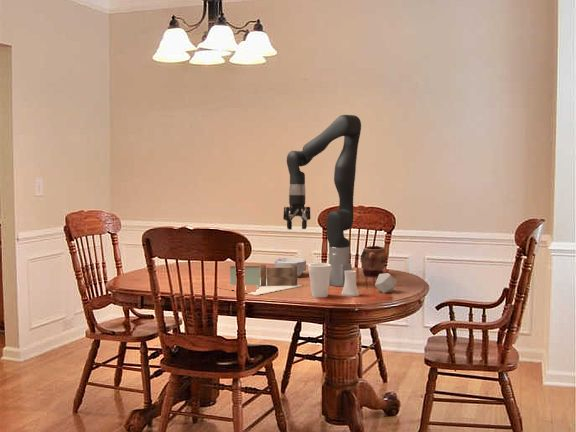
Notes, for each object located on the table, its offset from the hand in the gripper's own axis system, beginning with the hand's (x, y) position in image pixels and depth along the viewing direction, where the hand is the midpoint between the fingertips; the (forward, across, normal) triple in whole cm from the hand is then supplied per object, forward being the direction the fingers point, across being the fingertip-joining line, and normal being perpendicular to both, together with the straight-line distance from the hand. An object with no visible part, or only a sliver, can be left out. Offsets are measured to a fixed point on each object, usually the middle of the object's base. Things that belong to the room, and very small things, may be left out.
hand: (296, 229), depth 321 cm
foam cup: (+26, -15, -34) cm, 45 cm away
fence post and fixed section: (+24, -15, -6) cm, 29 cm away
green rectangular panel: (+24, -27, +3) cm, 36 cm away
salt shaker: (+26, -4, -40) cm, 48 cm away
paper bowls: (+23, +5, +11) cm, 26 cm away
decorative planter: (+23, +34, -16) cm, 44 cm away
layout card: (+25, -23, -2) cm, 34 cm away
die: (+25, +12, -46) cm, 53 cm away
